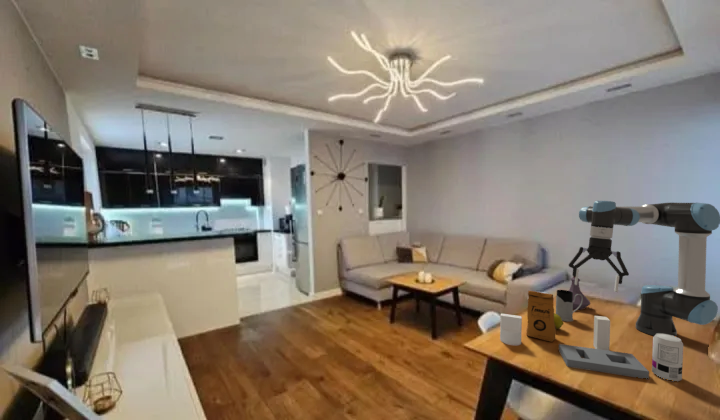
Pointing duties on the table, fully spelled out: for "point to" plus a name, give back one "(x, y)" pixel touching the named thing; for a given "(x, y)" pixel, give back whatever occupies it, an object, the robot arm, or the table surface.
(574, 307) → the flask
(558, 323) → the lemon
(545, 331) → the coffee package
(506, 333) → the white piece
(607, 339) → the square peg
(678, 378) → the supplement can
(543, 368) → the table surface
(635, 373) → the socket plate
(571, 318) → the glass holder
